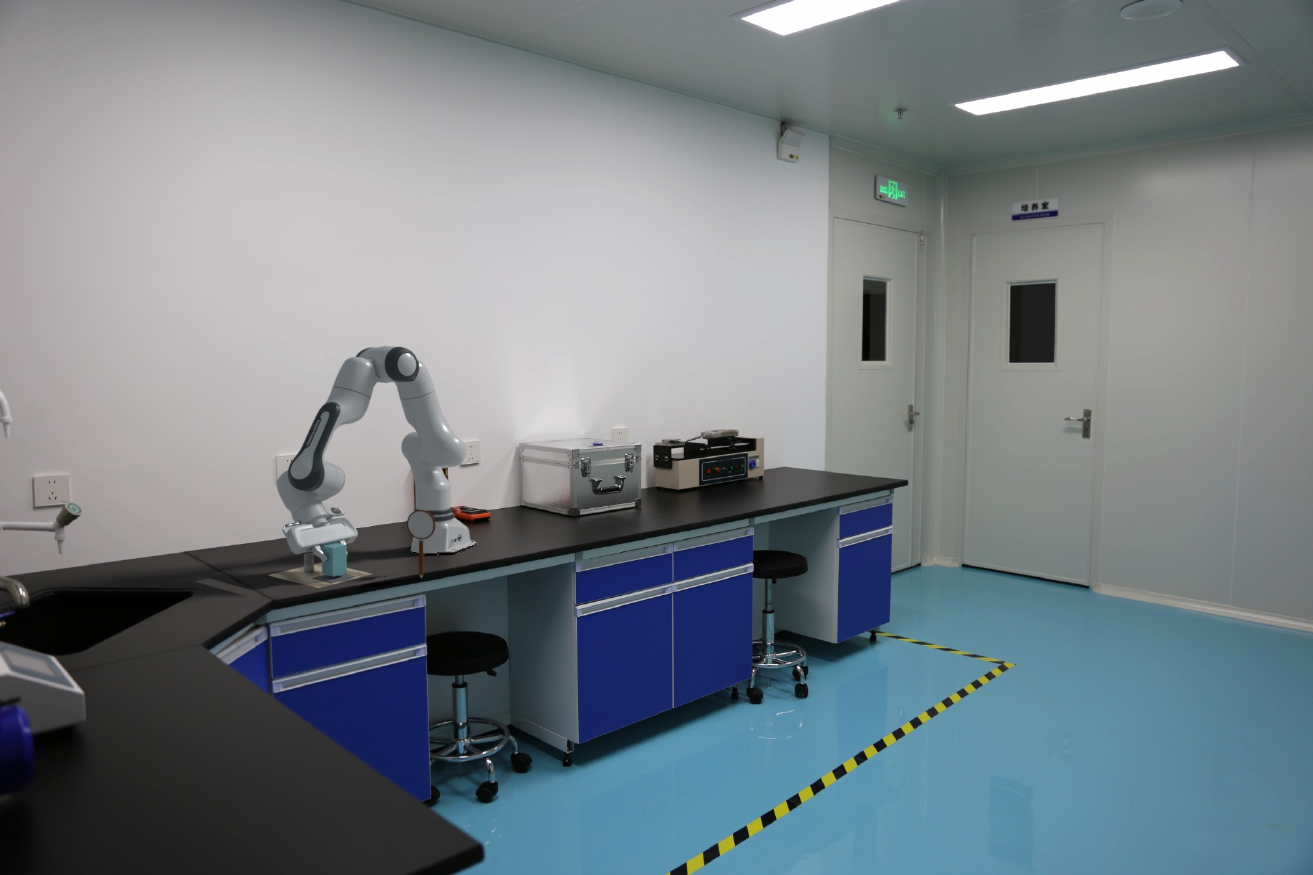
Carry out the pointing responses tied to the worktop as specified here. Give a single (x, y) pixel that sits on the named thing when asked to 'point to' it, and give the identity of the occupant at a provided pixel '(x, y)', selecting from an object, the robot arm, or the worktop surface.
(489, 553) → the worktop surface
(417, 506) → the robot arm
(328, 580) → the pad
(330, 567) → the teal pillar
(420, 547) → the magnifying glass
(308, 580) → the post board
